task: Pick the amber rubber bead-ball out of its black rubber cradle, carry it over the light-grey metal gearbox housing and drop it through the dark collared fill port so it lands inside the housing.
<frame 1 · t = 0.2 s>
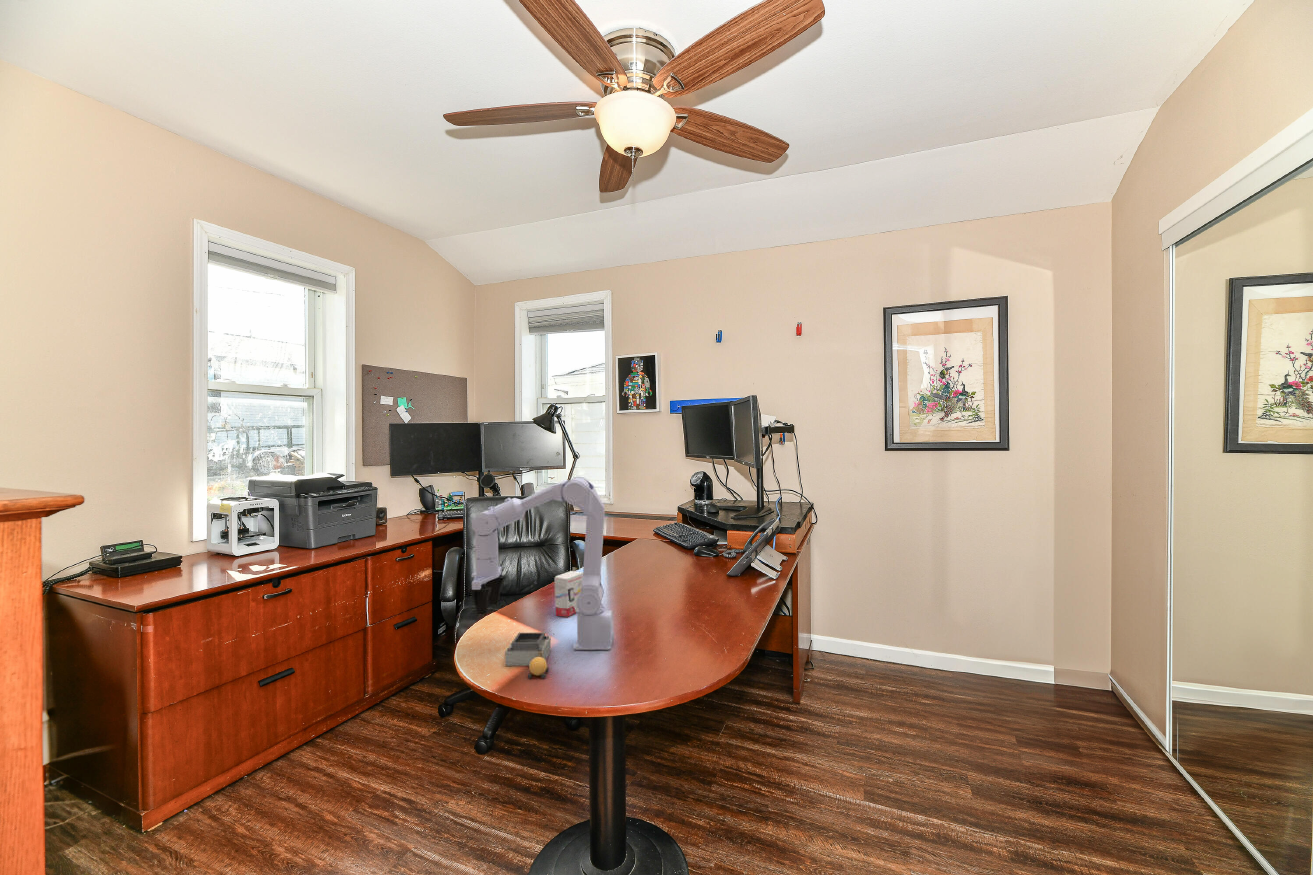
hand: (488, 608, 139), 10 cm above the table, fingers open, 7 cm apart
ball: (538, 674, 123), on the table
gearbox: (528, 657, 132), on the table
cradle: (538, 674, 123), on the table
ink box: (569, 613, 164), on the table
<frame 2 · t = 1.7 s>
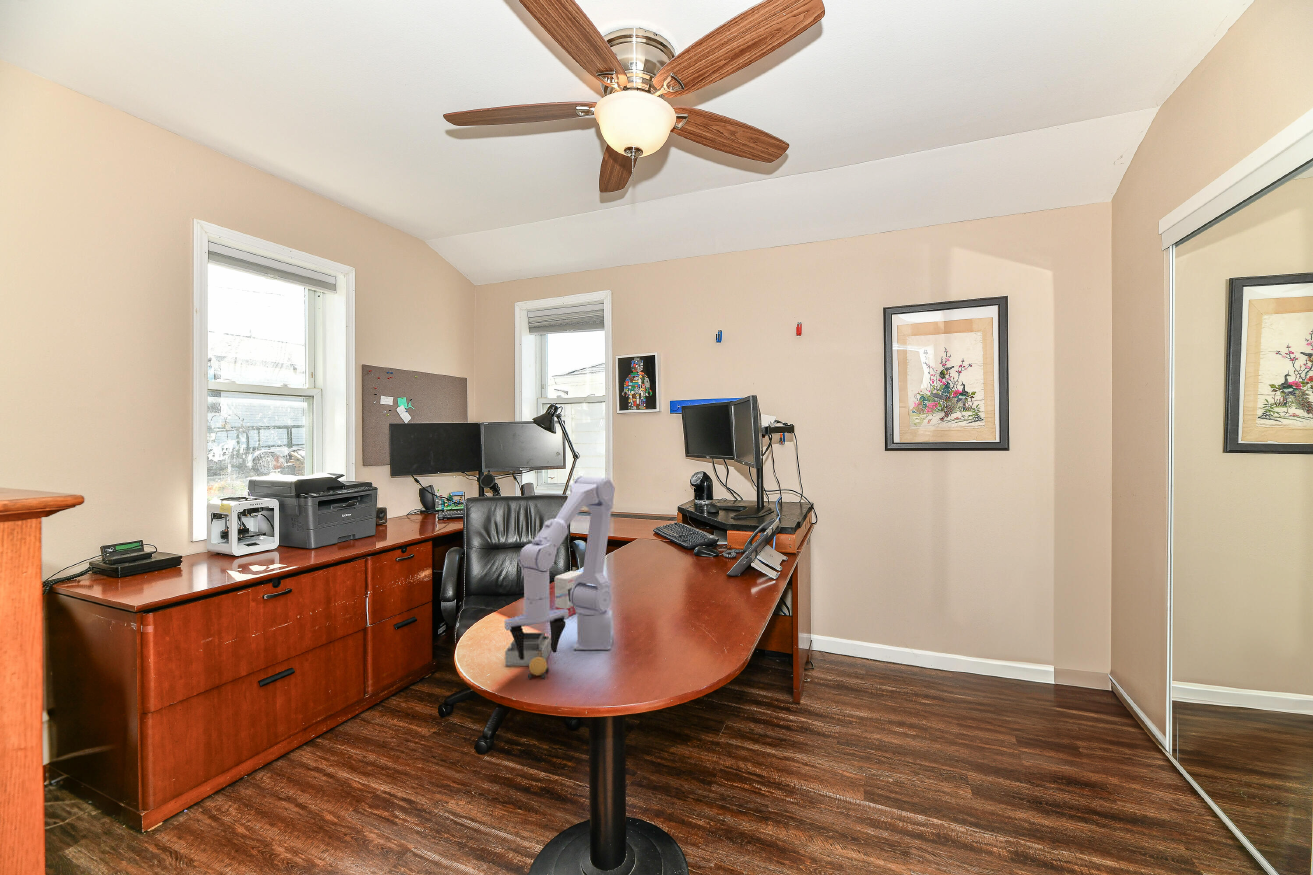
hand: (537, 654, 123), 5 cm above the table, fingers open, 7 cm apart
nothing on the table moved.
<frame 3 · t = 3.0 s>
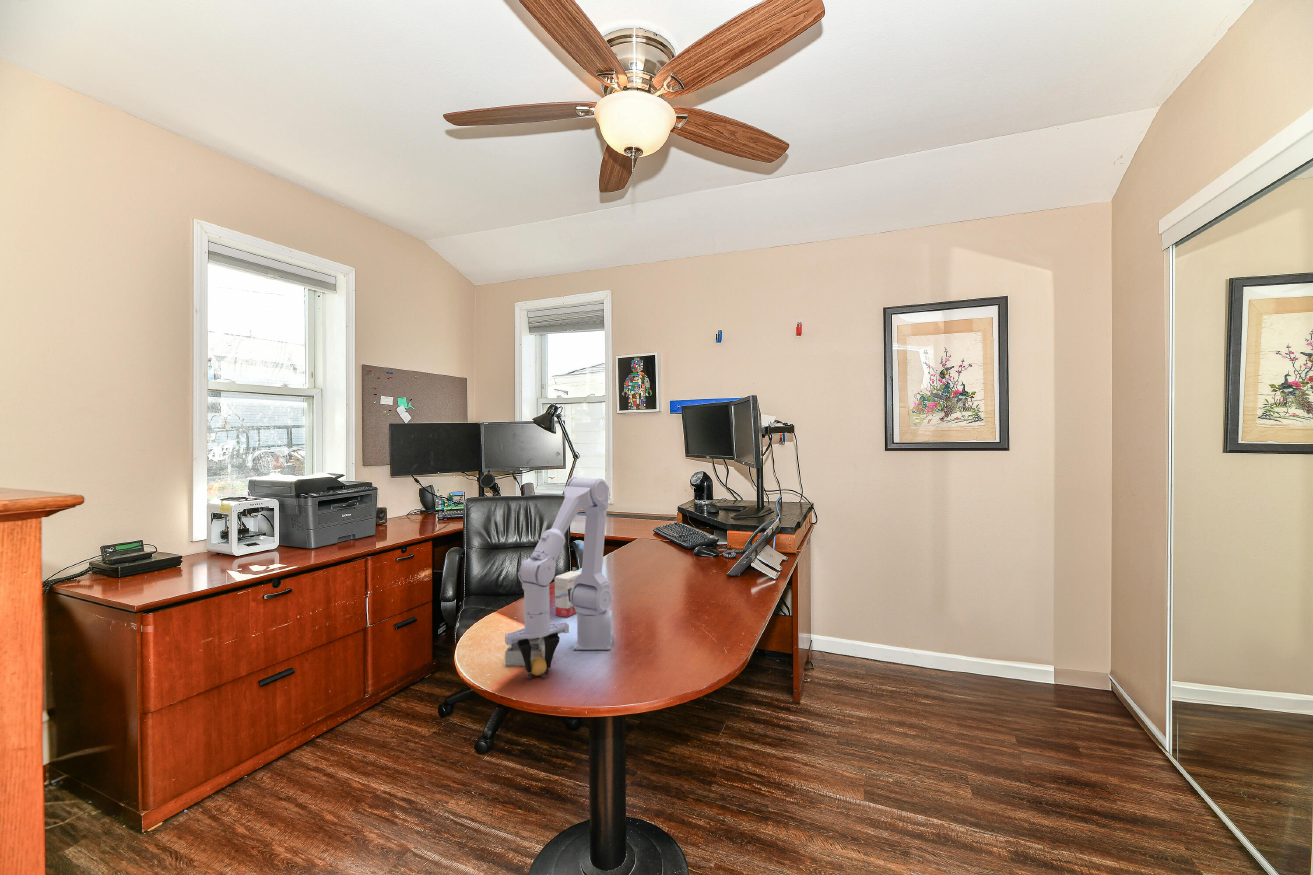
hand: (538, 668, 123), 1 cm above the table, fingers closed on ball, 4 cm apart
ball: (538, 674, 123), on the table, touching gripper
everything else where it was.
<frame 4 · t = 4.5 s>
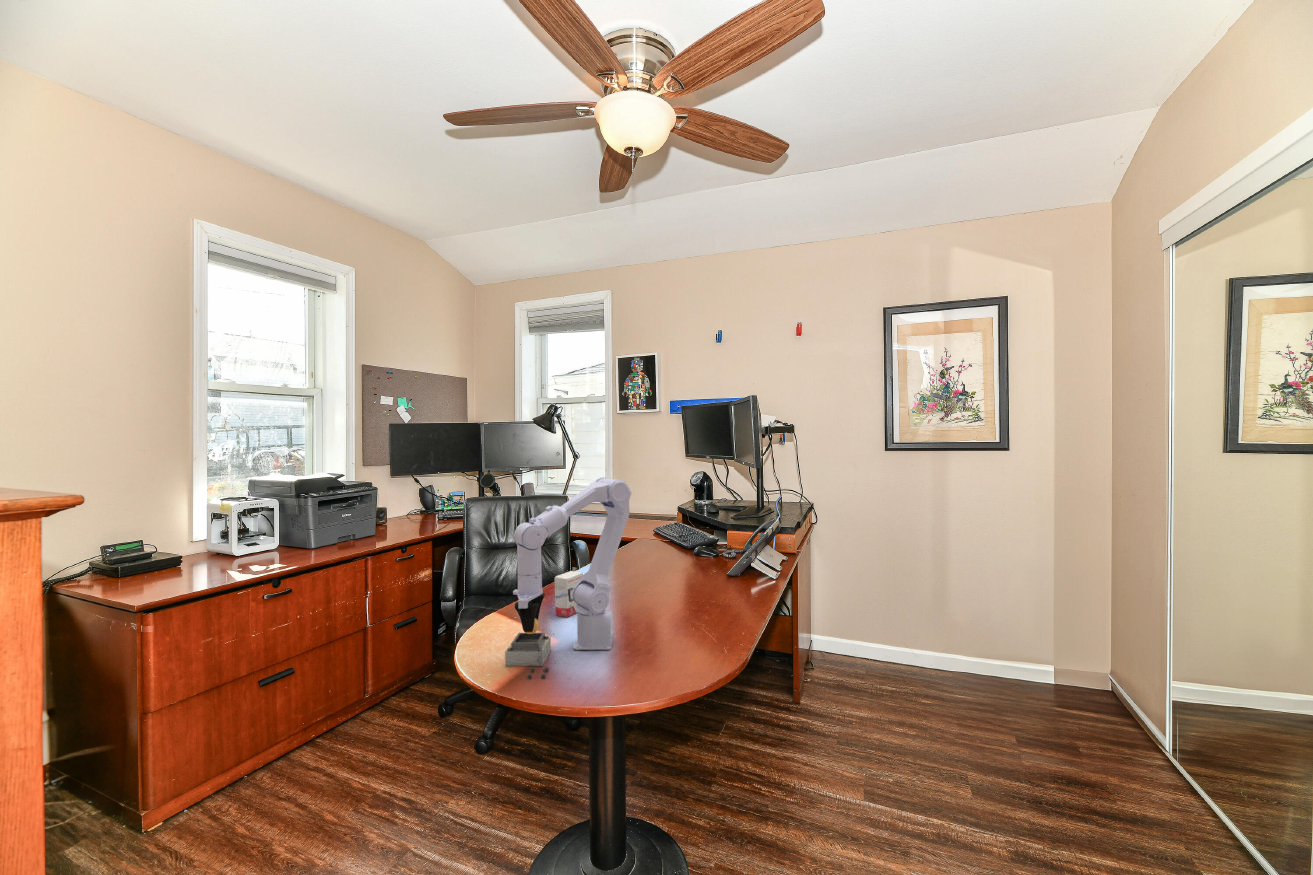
hand: (530, 627, 130), 8 cm above the table, fingers closed on ball, 4 cm apart
ball: (530, 633, 130), point 7 cm above the table, touching gripper
everything else where it was.
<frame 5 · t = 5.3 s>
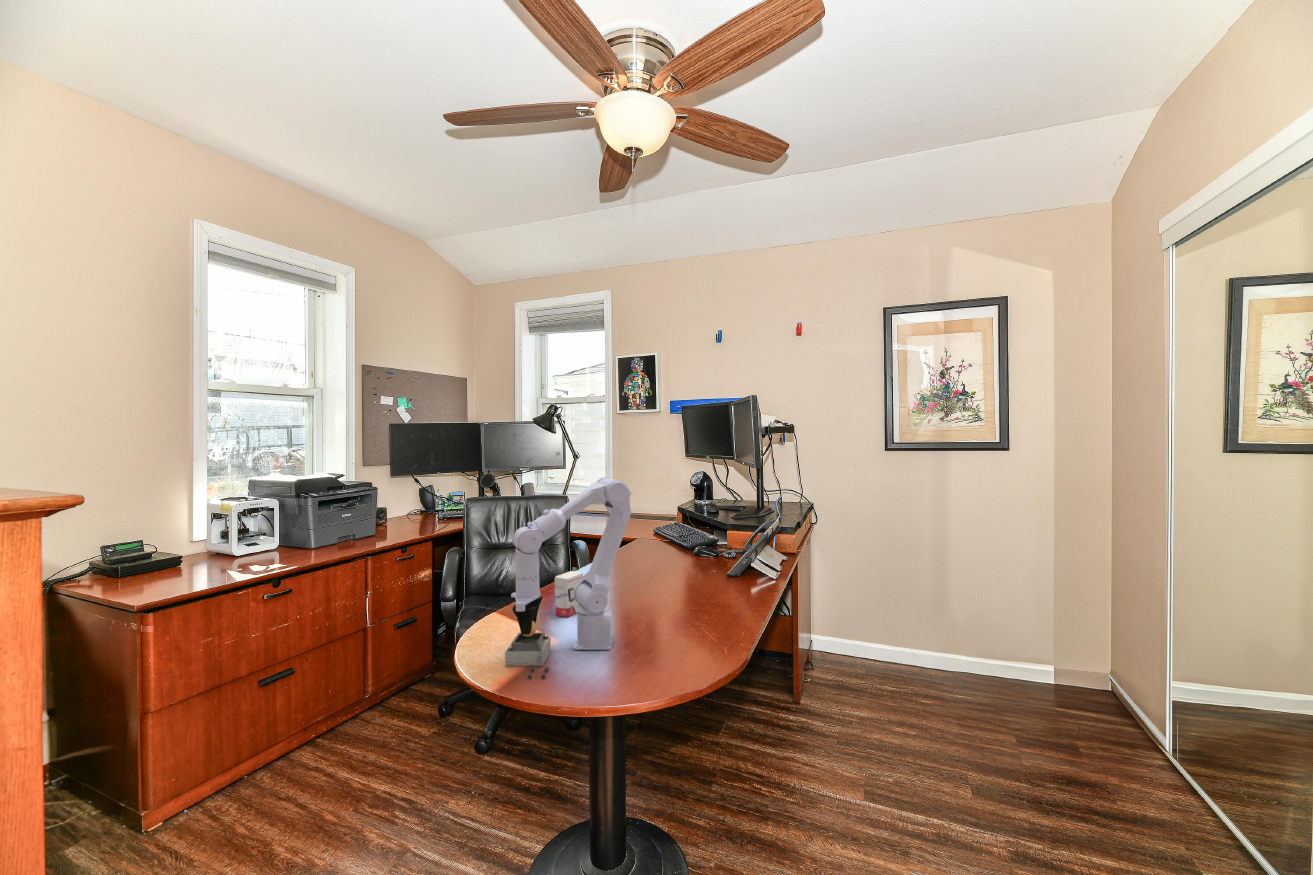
hand: (528, 630, 132), 7 cm above the table, fingers closed on ball, 4 cm apart
ball: (528, 635, 132), point 5 cm above the table, touching gripper
everything else where it was.
when the fingers open (7 cm above the table, at t = 5.8 s): ball drops 5 cm, resting on gearbox.
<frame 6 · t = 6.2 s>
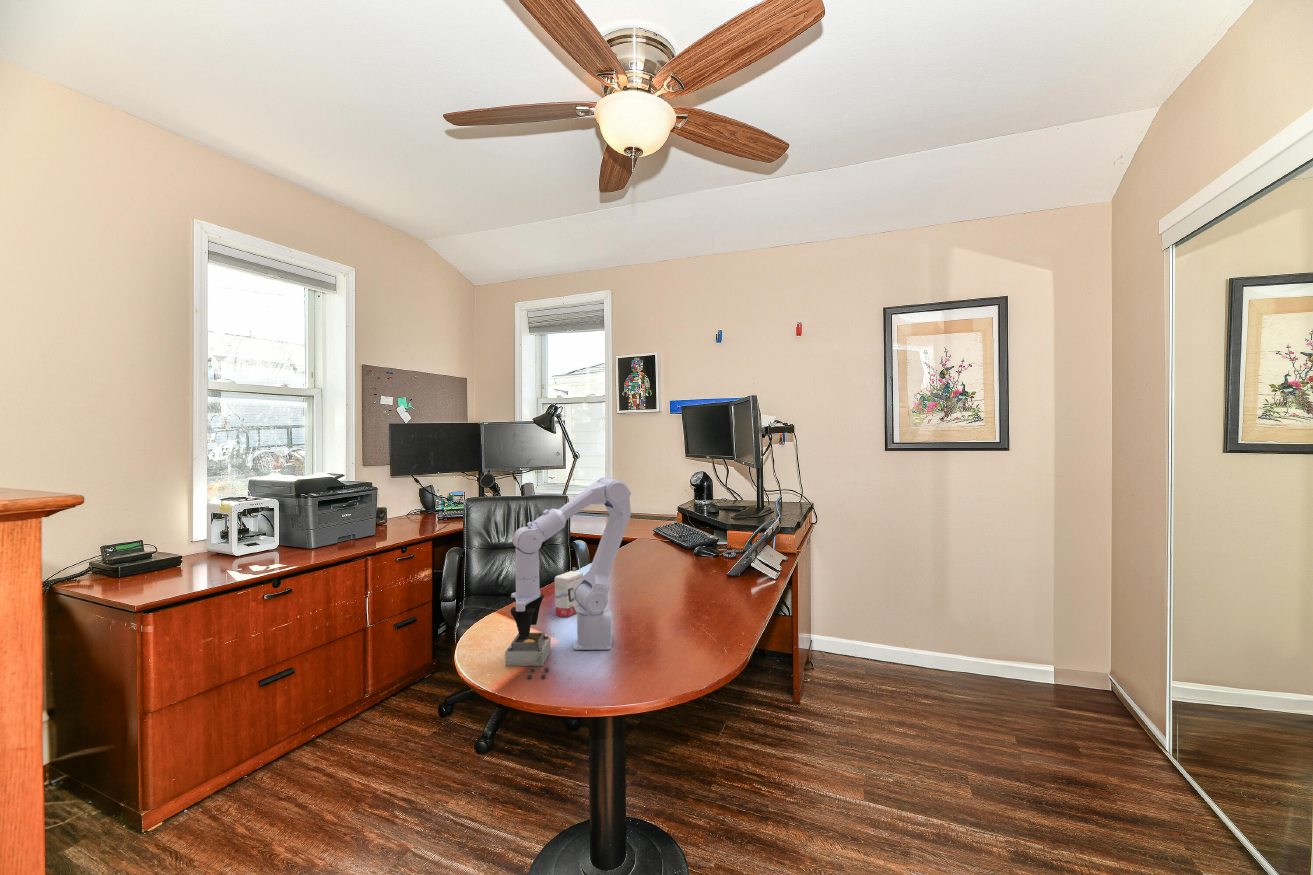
hand: (528, 630, 132), 7 cm above the table, fingers open, 7 cm apart
ball: (528, 656, 132), resting on gearbox, tilted 10°
everything else where it was.
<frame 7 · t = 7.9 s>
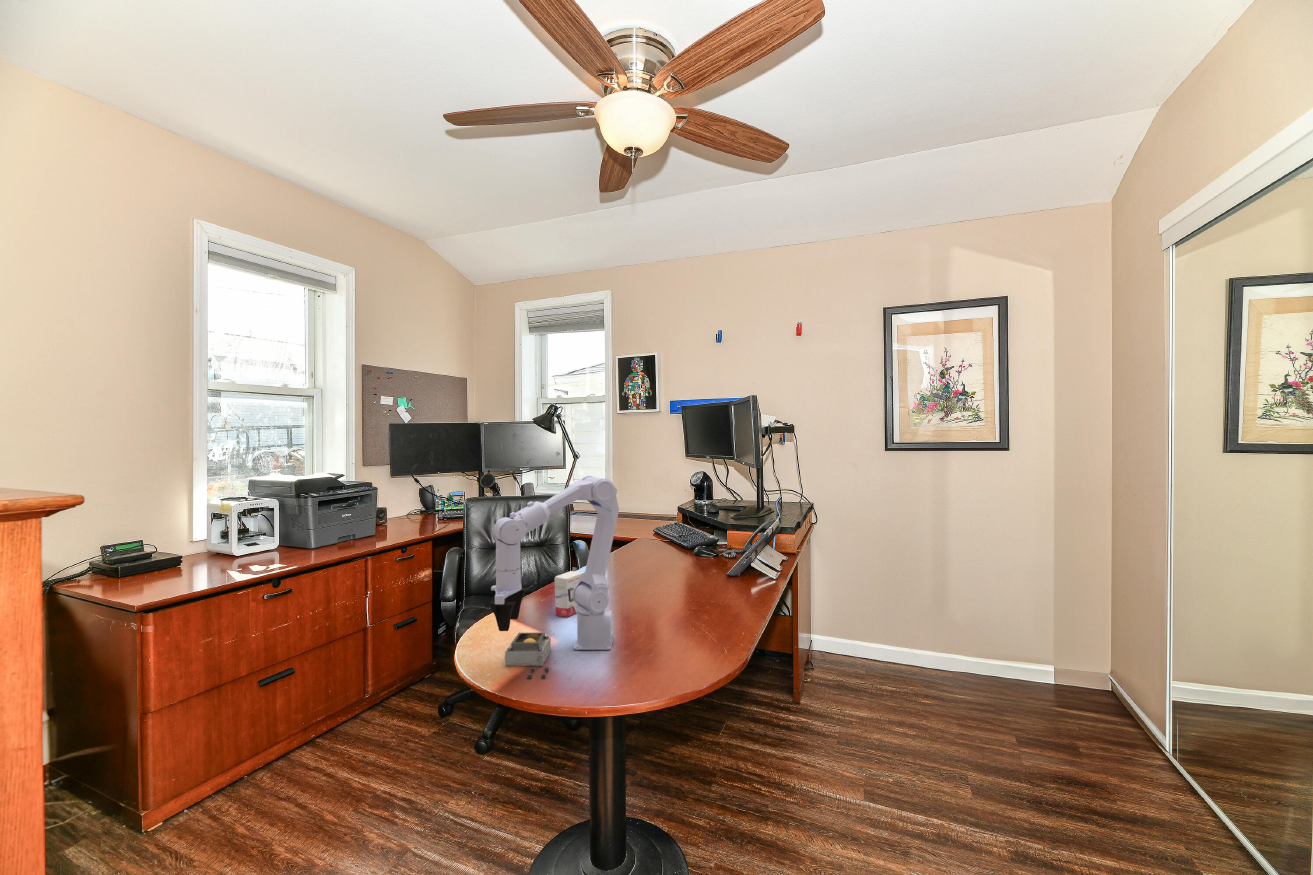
hand: (508, 624, 127), 10 cm above the table, fingers open, 7 cm apart
ball: (528, 655, 132), point 1 cm above the table, tilted 27°, touching gearbox
everything else where it was.
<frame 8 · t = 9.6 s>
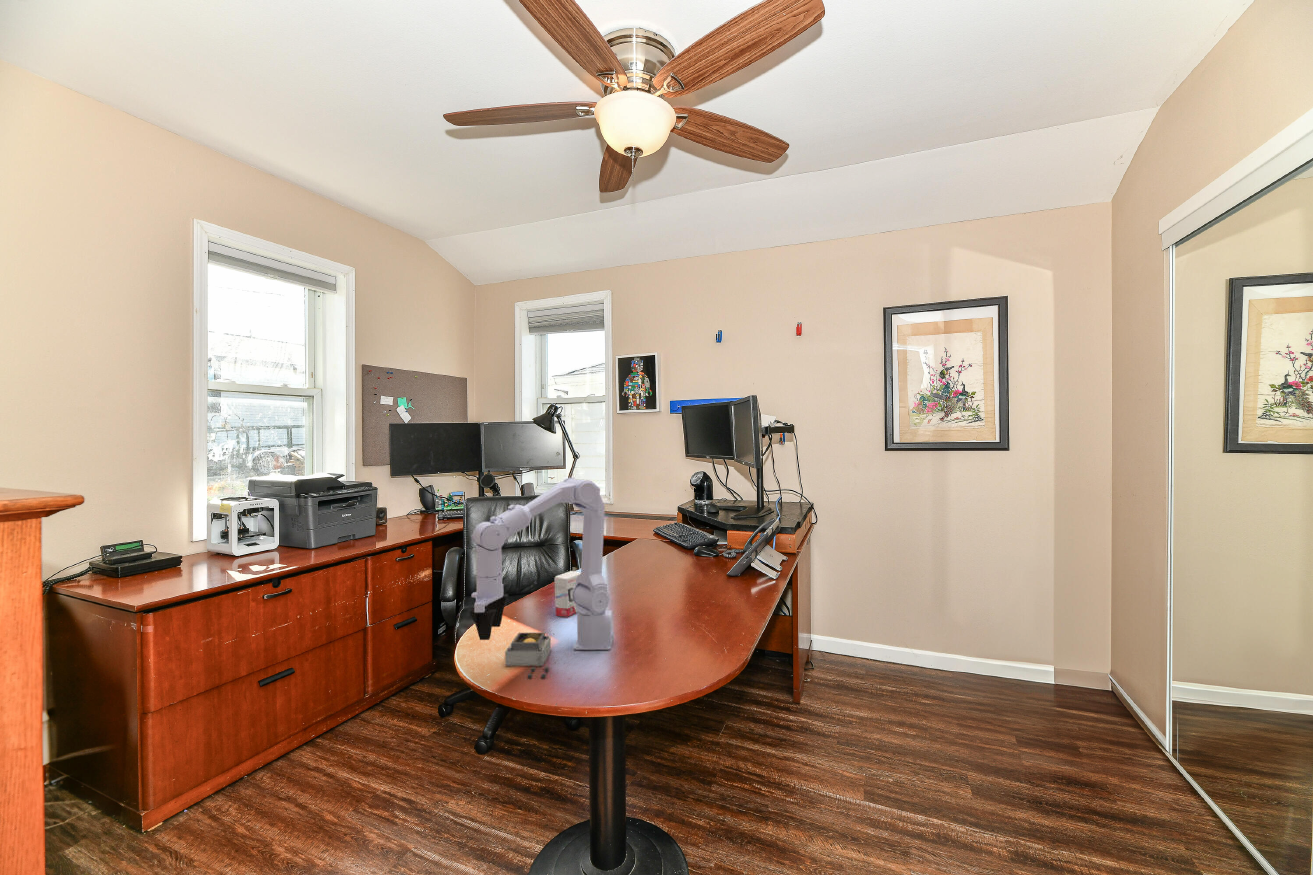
hand: (490, 632, 123), 10 cm above the table, fingers open, 7 cm apart
nothing on the table moved.
at the end: ball 0.1 cm off-centre on the gearbox, point 0.6 cm above the gearbox's base; the gripper is holding nothing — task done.
